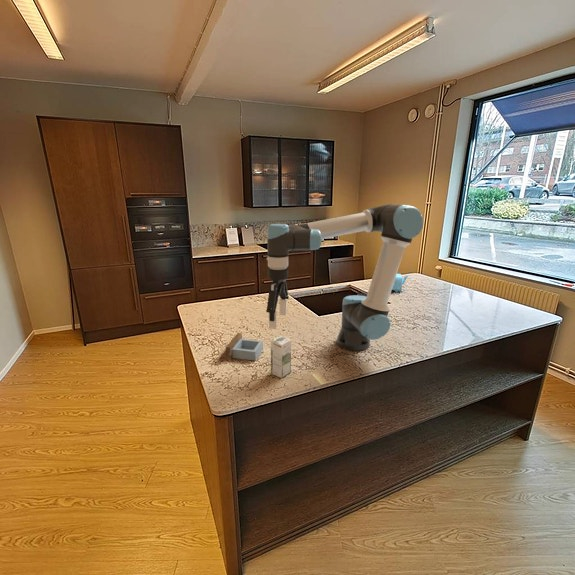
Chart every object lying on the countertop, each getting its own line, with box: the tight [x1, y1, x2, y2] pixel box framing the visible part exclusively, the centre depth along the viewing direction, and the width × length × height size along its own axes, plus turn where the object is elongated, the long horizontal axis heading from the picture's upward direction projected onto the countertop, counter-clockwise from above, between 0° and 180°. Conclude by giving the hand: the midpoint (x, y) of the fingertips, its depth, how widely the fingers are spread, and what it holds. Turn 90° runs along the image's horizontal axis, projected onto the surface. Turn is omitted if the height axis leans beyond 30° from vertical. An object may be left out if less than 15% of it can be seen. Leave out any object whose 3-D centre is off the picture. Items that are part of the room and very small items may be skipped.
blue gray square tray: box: [232, 338, 264, 361], centre depth 141 cm, size 10×10×4 cm
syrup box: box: [270, 335, 292, 379], centre depth 124 cm, size 6×6×14 cm
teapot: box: [392, 273, 411, 293], centre depth 227 cm, size 18×16×13 cm
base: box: [219, 332, 243, 361], centre depth 142 cm, size 5×14×6 cm, turn 167°
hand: (278, 321), depth 123 cm, fingers open, 13 cm apart
